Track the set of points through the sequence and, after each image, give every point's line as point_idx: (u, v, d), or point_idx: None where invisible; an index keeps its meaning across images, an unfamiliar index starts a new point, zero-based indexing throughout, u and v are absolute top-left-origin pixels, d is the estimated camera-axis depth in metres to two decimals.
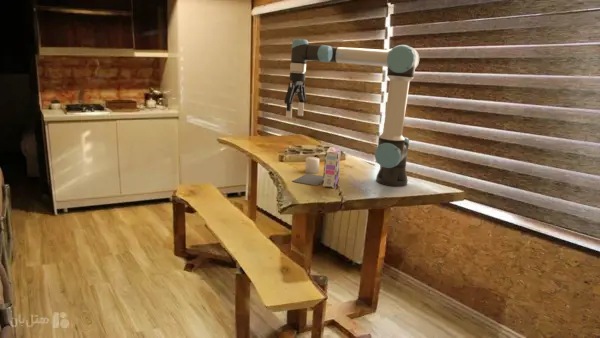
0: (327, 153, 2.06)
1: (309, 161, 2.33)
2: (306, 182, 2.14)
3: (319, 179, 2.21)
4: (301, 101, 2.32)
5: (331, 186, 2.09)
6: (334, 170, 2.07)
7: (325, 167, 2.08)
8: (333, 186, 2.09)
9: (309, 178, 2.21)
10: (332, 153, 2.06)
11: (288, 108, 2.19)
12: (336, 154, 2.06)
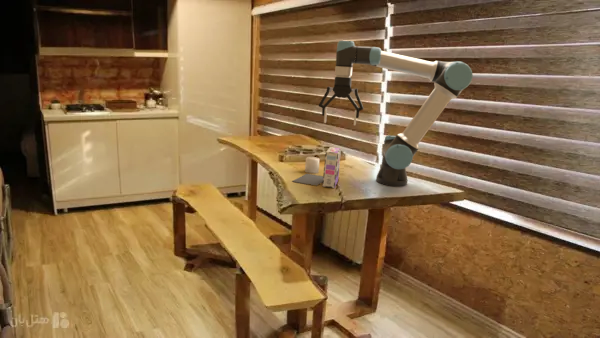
0: (327, 153, 2.06)
1: (309, 161, 2.33)
2: (306, 182, 2.14)
3: (319, 179, 2.21)
4: (356, 109, 2.09)
5: (331, 186, 2.09)
6: (334, 170, 2.07)
7: (325, 167, 2.08)
8: (333, 186, 2.09)
9: (309, 178, 2.21)
10: (332, 153, 2.06)
11: (322, 112, 2.12)
12: (336, 154, 2.06)
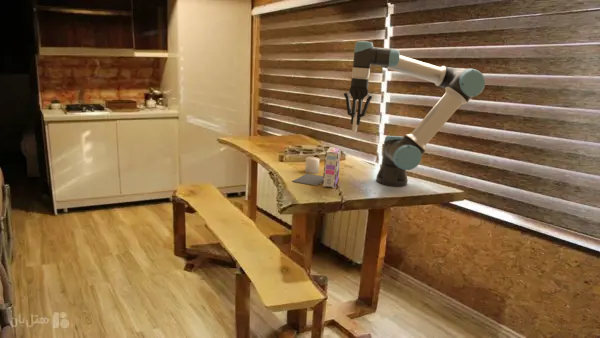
0: (327, 153, 2.06)
1: (309, 161, 2.33)
2: (306, 182, 2.14)
3: (319, 179, 2.21)
4: None
5: (331, 186, 2.09)
6: (334, 170, 2.07)
7: (325, 167, 2.08)
8: (333, 186, 2.09)
9: (309, 178, 2.21)
10: (332, 153, 2.06)
11: (351, 121, 2.06)
12: (336, 154, 2.06)
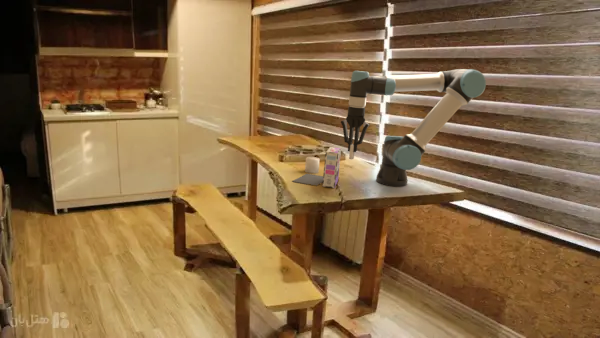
0: (327, 153, 2.06)
1: (309, 161, 2.33)
2: (306, 182, 2.14)
3: (319, 179, 2.21)
4: None
5: (331, 186, 2.09)
6: (334, 170, 2.07)
7: (325, 167, 2.08)
8: (333, 186, 2.09)
9: (309, 178, 2.21)
10: (332, 153, 2.06)
11: (348, 148, 2.09)
12: (336, 154, 2.06)
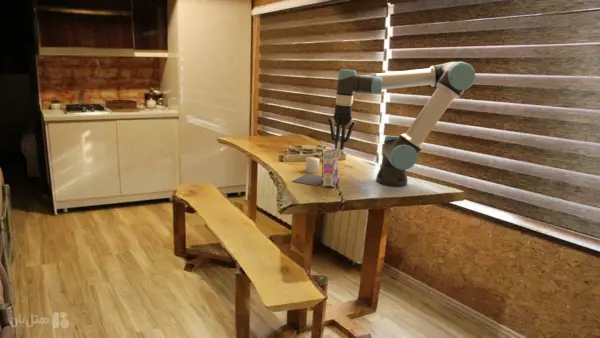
0: (323, 153, 2.07)
1: (309, 161, 2.33)
2: (306, 182, 2.14)
3: (319, 179, 2.21)
4: None
5: (331, 185, 2.09)
6: (332, 169, 2.07)
7: (323, 167, 2.08)
8: (333, 185, 2.09)
9: (309, 178, 2.21)
10: (328, 152, 2.06)
11: (335, 146, 2.11)
12: (332, 153, 2.06)
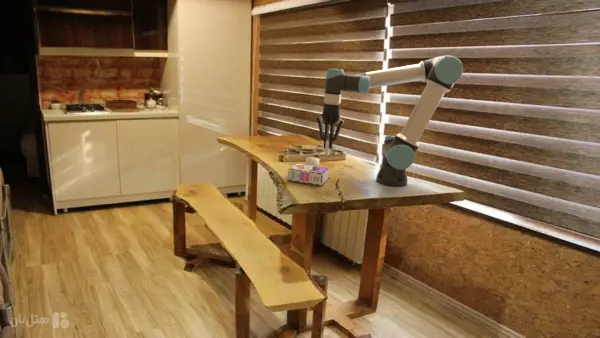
0: (289, 178, 2.13)
1: (309, 161, 2.33)
2: None
3: None
4: None
5: (321, 176, 2.09)
6: (305, 172, 2.11)
7: (302, 181, 2.12)
8: (321, 174, 2.09)
9: None
10: (289, 173, 2.13)
11: (324, 144, 2.13)
12: (289, 170, 2.12)
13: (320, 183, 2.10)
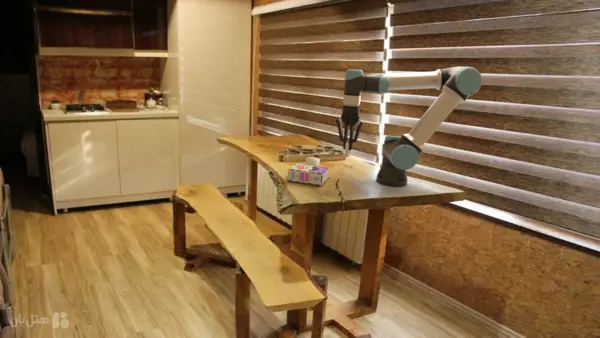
0: (289, 179, 2.13)
1: (309, 161, 2.33)
2: None
3: None
4: None
5: (320, 176, 2.09)
6: (305, 173, 2.11)
7: (302, 181, 2.12)
8: (320, 174, 2.09)
9: None
10: (288, 174, 2.13)
11: None
12: (289, 170, 2.12)
13: (320, 183, 2.10)
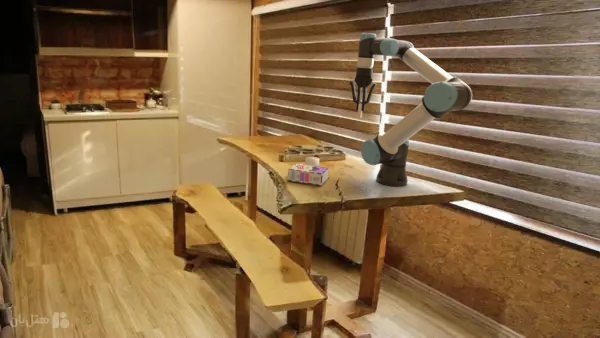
0: (289, 179, 2.13)
1: (309, 161, 2.33)
2: None
3: None
4: None
5: (320, 176, 2.09)
6: (305, 173, 2.11)
7: (302, 181, 2.12)
8: (320, 174, 2.09)
9: None
10: (288, 174, 2.13)
11: None
12: (289, 170, 2.12)
13: (320, 183, 2.10)
